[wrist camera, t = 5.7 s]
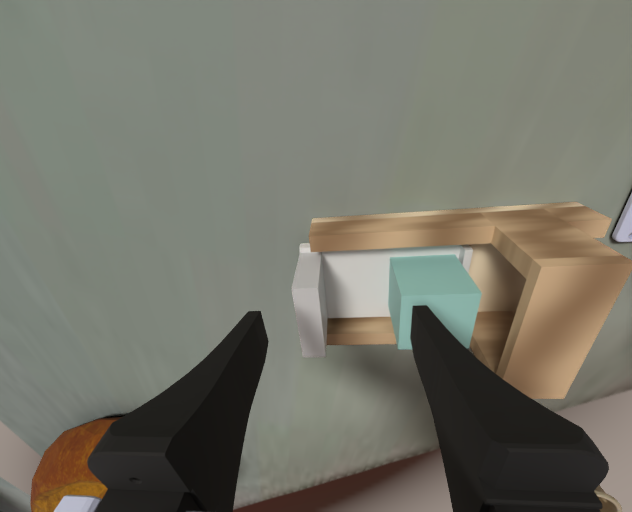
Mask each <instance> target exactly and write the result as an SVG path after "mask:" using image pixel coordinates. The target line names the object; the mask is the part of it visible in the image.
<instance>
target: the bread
mask: <svg viewBox="0 0 632 512" xmlns="http://www.w3.org/2000/svg"><path fill="white" fill-rule="evenodd" d="M120 418H122V417H116V418H102V419H97V420H94V421H91V422H88V423H86V424H83V425H80V426H77V427H75V428H72V429H69V430H67V431H64V432H63V433H62V434H61V435H60V436H59V437H58V438H57V439H56V440H55V441H54V443H53V444H52V445H51V446H50V447H49V448H48V449H47V450H46V451H45V453H44V455H43V457H42V459H41V462H40V464H39V466H38V468H37V470H36V473H35V475H34V477H33V479H32V490H31V511H32V512H54V510H55V509H56V507H57V506H58V504H59V503H60V501H61V500H62V498H63V497H64V496H66V495H83V496H95V497H98V498H101V499H102V498H103V497H104V495H105V493H106V492H107V490H108V489H107V488H106V486H105V485H104V484H103V483H102V482H101V481H100V480H99V479H98V478H97V477H96V476H95V475H94V474H93V473H92V472H91V471H90V470H89V468H88V464H87V460H88V457H89V456H90V454H91V453H92V451H93V450H94V448H95V447H96V445H97V444H98V443H99V441H100V440H101V438H102V437H103V435H104V434H105V432H106V431H107V429H108V428H109V426H110V425H111V424H112V423H113V422H114V421H116V420H118V419H120Z"/></svg>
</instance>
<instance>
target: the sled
mask: <svg viewBox="0 0 632 512" xmlns="http://www.w3.org/2000/svg"><path fill="white" fill-rule="evenodd" d="M299 250H300V255H299V259H298V263H297V267H296V272H295V276H294V280H293V285H292V294H293V300H294V306H295V312H296V318H297V324H298V330H299V336H300V342H301V347H302V353H303V357H326V341H327V320H328V318H355V317H391V316H390V312H389V307H388V295H389V267H390V257H408V256H429V255H450V254H455V255H456V257H457V258H458V260H459V261H460V262H461V264H462V265H463V267H464V268H465V270H466V271H467V273H469V268H470V263H471V258H472V252H473V249H472V248H471V247H470V246H469V244H466V245H446V246H427V247H407V248H387V249H367V250H347V251H328V252H311V250H310V243H302V244H300V247H299Z"/></svg>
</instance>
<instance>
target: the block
mask: <svg viewBox="0 0 632 512" xmlns="http://www.w3.org/2000/svg"><path fill="white" fill-rule="evenodd" d="M481 295H482V293H481V291H480V290H479V288H478V287H477V285H476V284H475V283H474V281H473V280H472V278H471V277H470V275H469V274H468V273H467V271H466V270H465V268H464V267H463V265H462V264H461V262H460V261H459V260H458V258H457V257H456V255H455V254H450V255H429V256H408V257H390V267H389V295H388V307H389V312H390V316H391V321H392V325H393V329H394V334H395V338H396V343H397V347H398V350H406V349H412V345H411V339H410V334H411V321H412V308H413V306H418V305H427V306H428V307H429V308H430V309H431V311H432V312H433V313H434V314H435V315H436V317H437V318H438V319H439V320H440V321H441V322H442V324H443V325H444V326H445V327H446V328H447V329H448V330H449V331H450V332H451V333H452V334H453V335H454V336H455V338H456V339H457V340H458V341H459V342H460V343H461V344H462V345H463V346H464V347H465V348H466V349H469V346H470V342H471V337H472V333H473V329H474V325H475V320H476V316H477V312H478V308H479V304H480V299H481Z"/></svg>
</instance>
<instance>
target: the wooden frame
mask: <svg viewBox="0 0 632 512" xmlns="http://www.w3.org/2000/svg"><path fill="white" fill-rule="evenodd" d="M611 221H612V219H611V218H608V217H606V216H604V215H602V214H600V213H598V212H596V211H594V210H592V209H590V208H588V207H586V206H584V205H582V204H579V203H577V202H566V203H550V204H534V205H518V206H502V207H487V208H471V209H455V210H439V211H423V212H407V213H391V214H375V215H360V216H344V217H328V218H312V223H311V228H310V233H309V242H310V250H311V252H328V251H347V250H367V249H387V248H407V247H427V246H446V245H466V244H469V246H470V247H471V248H472V249H473V252H472V258H471V263H470V268H469V273H468V274H469V275H470V277H471V278H472V280H473V281H474V283H475V284H476V285H477V287H478V288H479V290H480V291H481V293H482V295H481V299H480V304H479V308H478V312H477V316H476V320H475V325H474V329H473V333H472V337H471V342H470V347H471V349H472V351H473V353H474V355H475V357H476V358H477V359H478V360H480V361H481V362H482V363H483V364H484V365H485V366H487V367H488V368H489V369H490V370H492V371H493V372H494V373H495V374H497V375H498V376H499V377H501V378H502V379H503V380H505V381H506V382H508V383H509V384H510V385H512V386H513V387H515V388H516V389H517V390H519V391H520V392H522V393H523V394H525V395H526V396H528V397H529V398H541V399H564V397H565V395H566V393H567V391H568V390H569V388H570V386H571V384H572V382H573V380H574V378H575V376H576V375H577V373H578V371H579V369H580V367H581V365H582V363H583V361H584V359H585V358H586V356H587V354H588V352H589V350H590V348H591V346H592V344H593V342H594V341H595V339H596V337H597V335H598V333H599V331H600V329H601V327H602V326H603V324H604V322H605V320H606V318H607V316H608V314H609V312H610V310H611V309H612V307H613V305H614V303H615V301H616V299H617V297H618V295H619V293H620V292H621V290H622V288H623V286H624V284H625V282H626V280H627V278H628V277H629V275H630V273H631V271H632V261H631V260H630V259H628V258H626V257H625V256H623V255H621V254H620V253H618V252H616V251H614V250H613V249H611V248H609V247H608V246H606V245H604V244H603V243H601V242H599V241H598V240H596V239H594V238H604V236H605V234H606V232H607V230H608V227H609V225H610V223H611ZM362 344H397V343H396V338H395V334H394V329H393V325H392V321H391V317H355V318H328V320H327V341H326V345H362Z"/></svg>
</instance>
